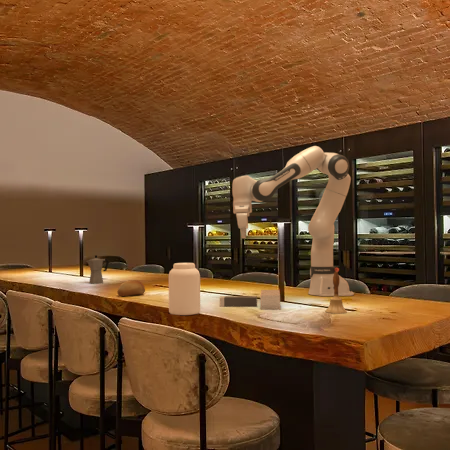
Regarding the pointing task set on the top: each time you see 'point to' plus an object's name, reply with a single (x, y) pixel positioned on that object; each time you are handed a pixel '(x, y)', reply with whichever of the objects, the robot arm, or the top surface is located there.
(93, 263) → the coffeepot
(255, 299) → the plug bar
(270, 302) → the block
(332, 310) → the hand bell
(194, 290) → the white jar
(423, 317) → the top surface
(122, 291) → the bread roll
